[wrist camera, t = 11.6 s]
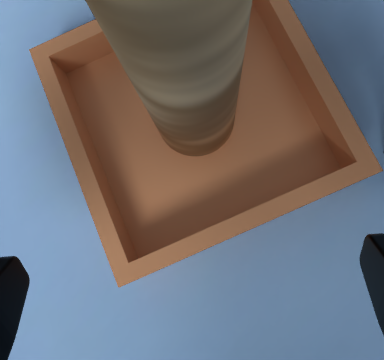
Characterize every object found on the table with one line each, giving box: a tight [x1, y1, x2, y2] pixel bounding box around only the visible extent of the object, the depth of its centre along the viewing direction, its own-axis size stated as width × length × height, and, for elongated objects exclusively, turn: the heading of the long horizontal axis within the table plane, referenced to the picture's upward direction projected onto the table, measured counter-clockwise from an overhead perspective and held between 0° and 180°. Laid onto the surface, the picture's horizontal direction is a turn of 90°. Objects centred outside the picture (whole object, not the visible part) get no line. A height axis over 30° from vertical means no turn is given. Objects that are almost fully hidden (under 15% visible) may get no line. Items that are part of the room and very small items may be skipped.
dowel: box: [85, 0, 252, 156], centre depth 11 cm, size 4×4×14 cm
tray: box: [29, 0, 383, 287], centre depth 17 cm, size 13×13×2 cm
